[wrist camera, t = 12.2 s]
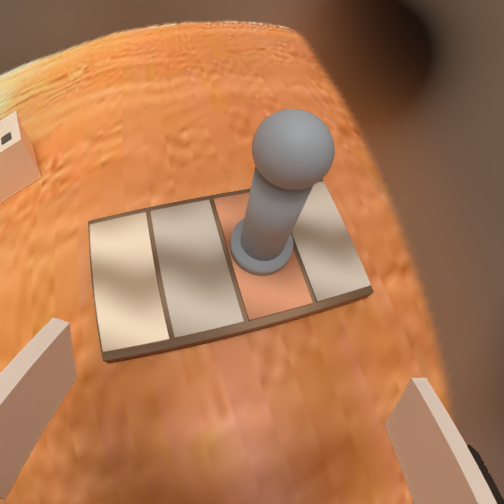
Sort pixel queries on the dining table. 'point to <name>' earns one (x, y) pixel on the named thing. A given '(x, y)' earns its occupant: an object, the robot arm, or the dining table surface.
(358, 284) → the board
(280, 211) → the pawn
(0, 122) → the die
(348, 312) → the dining table surface
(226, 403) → the dining table surface
